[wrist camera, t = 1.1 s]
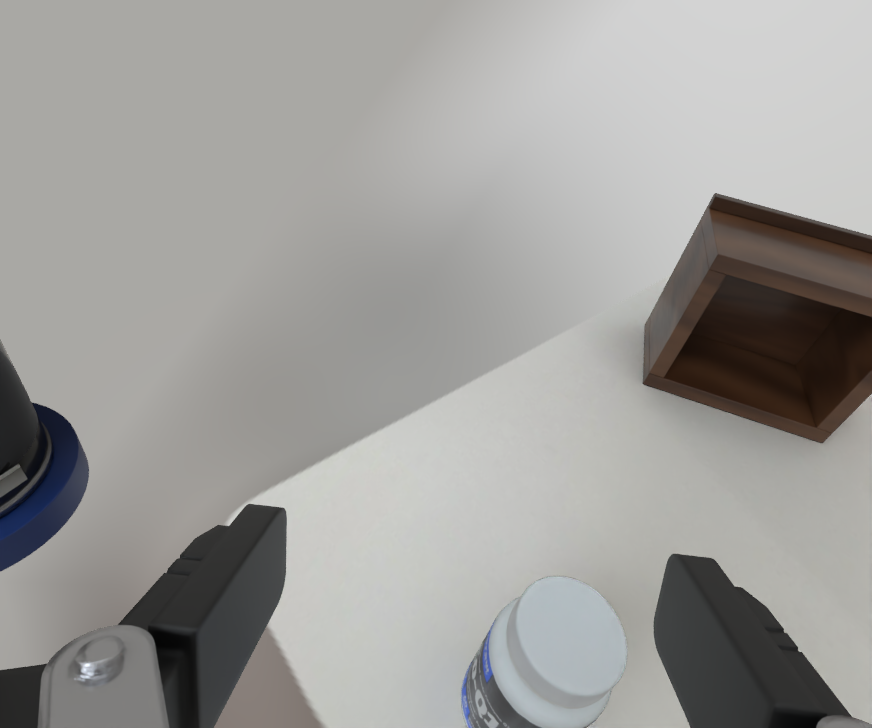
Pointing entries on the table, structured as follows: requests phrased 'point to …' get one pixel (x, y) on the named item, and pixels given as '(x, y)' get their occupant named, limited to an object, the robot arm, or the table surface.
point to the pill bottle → (546, 660)
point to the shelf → (767, 319)
